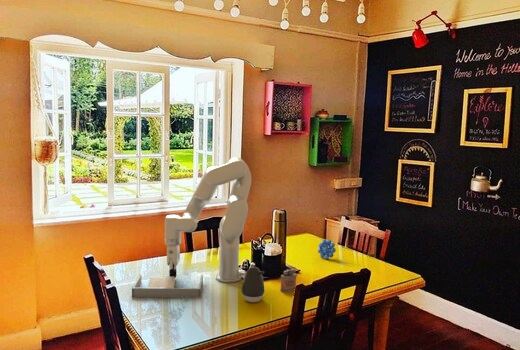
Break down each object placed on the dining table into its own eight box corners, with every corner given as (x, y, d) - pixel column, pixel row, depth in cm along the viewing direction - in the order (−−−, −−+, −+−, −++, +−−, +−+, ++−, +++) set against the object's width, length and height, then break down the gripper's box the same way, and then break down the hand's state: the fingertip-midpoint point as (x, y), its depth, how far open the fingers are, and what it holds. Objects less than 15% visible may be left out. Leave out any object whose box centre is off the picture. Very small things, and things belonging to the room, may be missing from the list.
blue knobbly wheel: (338, 260, 249) (340, 239, 247) (332, 262, 244) (333, 242, 242) (321, 255, 257) (323, 235, 255) (315, 257, 252) (316, 237, 250)
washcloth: (146, 297, 192) (146, 290, 191) (149, 281, 209) (149, 275, 209) (174, 296, 194) (174, 289, 193) (174, 280, 211) (174, 274, 211)
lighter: (282, 293, 201) (283, 272, 199) (278, 290, 204) (279, 269, 202) (297, 290, 204) (298, 269, 203) (293, 287, 207) (294, 267, 206)
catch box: (202, 283, 208) (202, 275, 208) (200, 297, 193) (200, 288, 192) (139, 282, 206) (139, 274, 206) (131, 296, 191) (131, 288, 190)
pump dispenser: (256, 307, 185) (257, 273, 183) (236, 300, 190) (237, 267, 188) (268, 299, 194) (270, 266, 191) (249, 293, 199) (250, 261, 197)
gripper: (178, 245, 202) (178, 283, 204) (183, 236, 216) (182, 271, 219) (162, 245, 201) (162, 283, 204) (167, 236, 216) (167, 271, 219)
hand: (172, 277), depth 212 cm, fingers closed
